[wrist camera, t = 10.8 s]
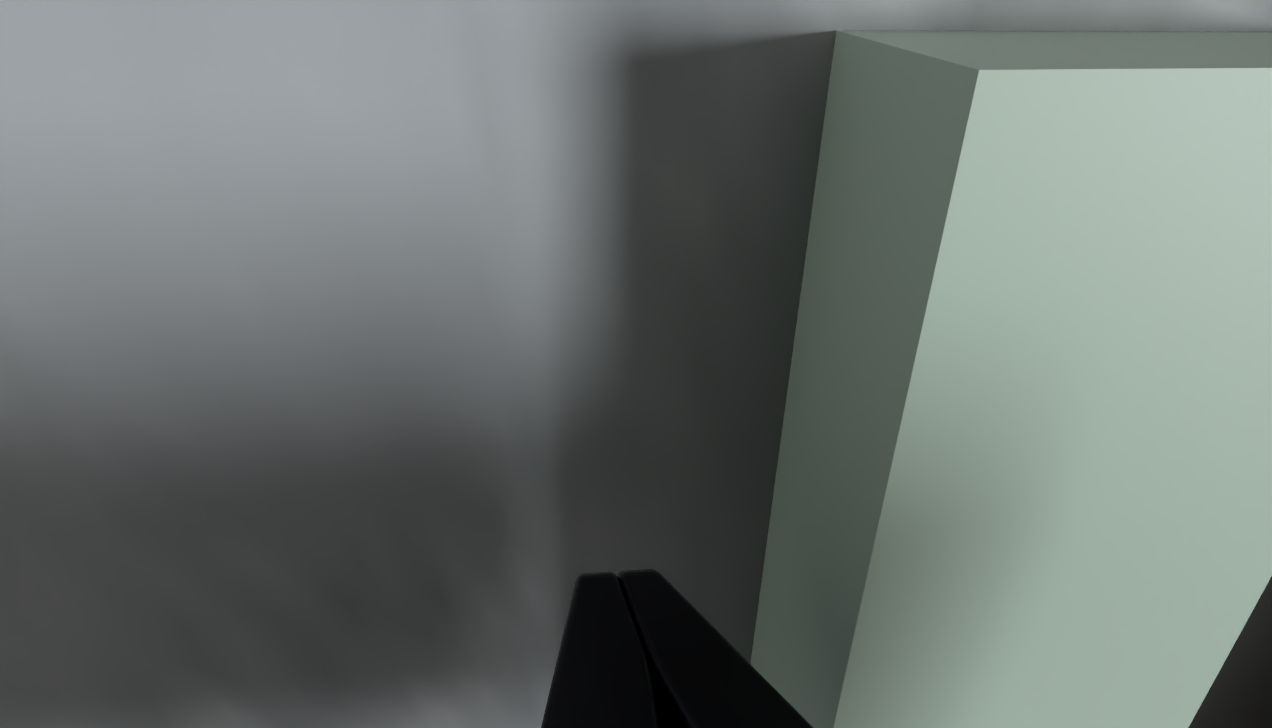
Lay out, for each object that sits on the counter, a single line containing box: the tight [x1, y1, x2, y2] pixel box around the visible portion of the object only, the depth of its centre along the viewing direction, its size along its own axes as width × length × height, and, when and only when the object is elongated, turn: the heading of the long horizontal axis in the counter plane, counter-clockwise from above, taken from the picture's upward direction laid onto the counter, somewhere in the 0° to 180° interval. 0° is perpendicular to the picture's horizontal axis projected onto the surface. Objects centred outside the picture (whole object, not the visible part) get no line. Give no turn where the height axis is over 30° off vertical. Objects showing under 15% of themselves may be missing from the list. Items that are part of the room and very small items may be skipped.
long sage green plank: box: [750, 31, 1272, 728], centre depth 10 cm, size 12×5×3 cm, turn 178°
